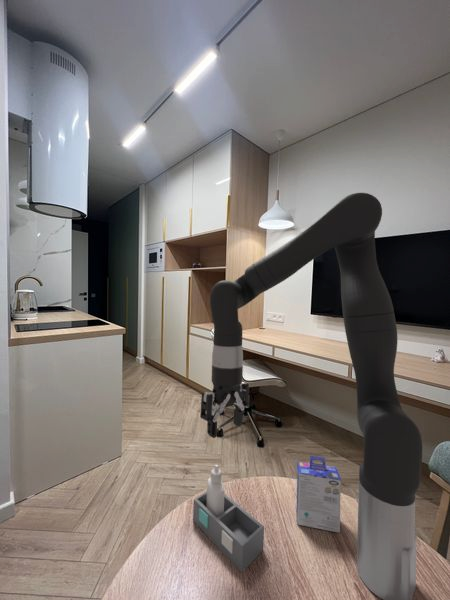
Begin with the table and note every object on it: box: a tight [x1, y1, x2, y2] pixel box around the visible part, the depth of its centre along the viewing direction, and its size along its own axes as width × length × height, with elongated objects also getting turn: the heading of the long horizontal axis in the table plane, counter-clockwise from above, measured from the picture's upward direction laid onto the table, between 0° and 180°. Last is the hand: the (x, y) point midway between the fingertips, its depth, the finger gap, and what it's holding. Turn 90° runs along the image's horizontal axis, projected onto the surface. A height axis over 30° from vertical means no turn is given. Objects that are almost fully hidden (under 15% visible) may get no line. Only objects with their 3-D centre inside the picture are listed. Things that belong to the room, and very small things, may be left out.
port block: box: [192, 490, 265, 573], centre depth 57 cm, size 16×7×5 cm, turn 44°
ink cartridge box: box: [295, 455, 342, 534], centre depth 62 cm, size 10×6×14 cm, turn 78°
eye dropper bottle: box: [206, 464, 225, 517], centre depth 60 cm, size 4×6×12 cm
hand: (225, 430), depth 61 cm, fingers open, 8 cm apart
